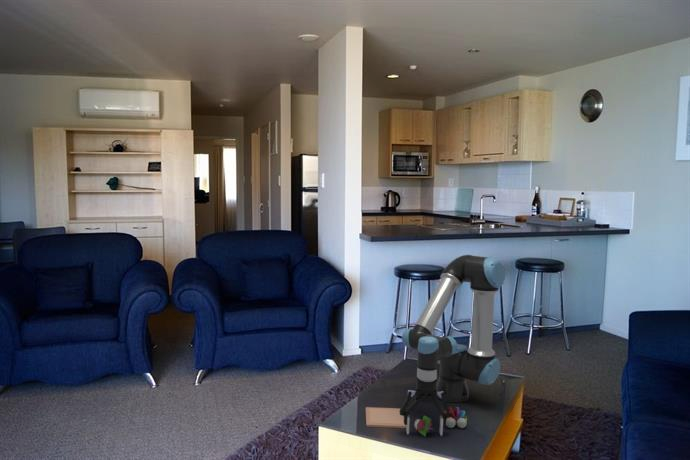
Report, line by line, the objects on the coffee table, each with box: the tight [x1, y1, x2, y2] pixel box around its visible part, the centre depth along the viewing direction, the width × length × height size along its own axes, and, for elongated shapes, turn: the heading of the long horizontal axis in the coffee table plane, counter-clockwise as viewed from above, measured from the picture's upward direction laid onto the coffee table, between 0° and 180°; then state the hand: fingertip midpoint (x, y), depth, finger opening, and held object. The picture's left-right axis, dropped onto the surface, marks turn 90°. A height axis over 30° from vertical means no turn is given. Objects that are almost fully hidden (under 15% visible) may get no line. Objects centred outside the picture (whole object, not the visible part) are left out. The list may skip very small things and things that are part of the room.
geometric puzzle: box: [414, 414, 435, 438], centre depth 203 cm, size 7×7×8 cm
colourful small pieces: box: [443, 406, 468, 429], centre depth 211 cm, size 8×10×7 cm
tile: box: [365, 406, 406, 429], centre depth 215 cm, size 16×16×1 cm
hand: (424, 433), depth 203 cm, fingers open, 12 cm apart
